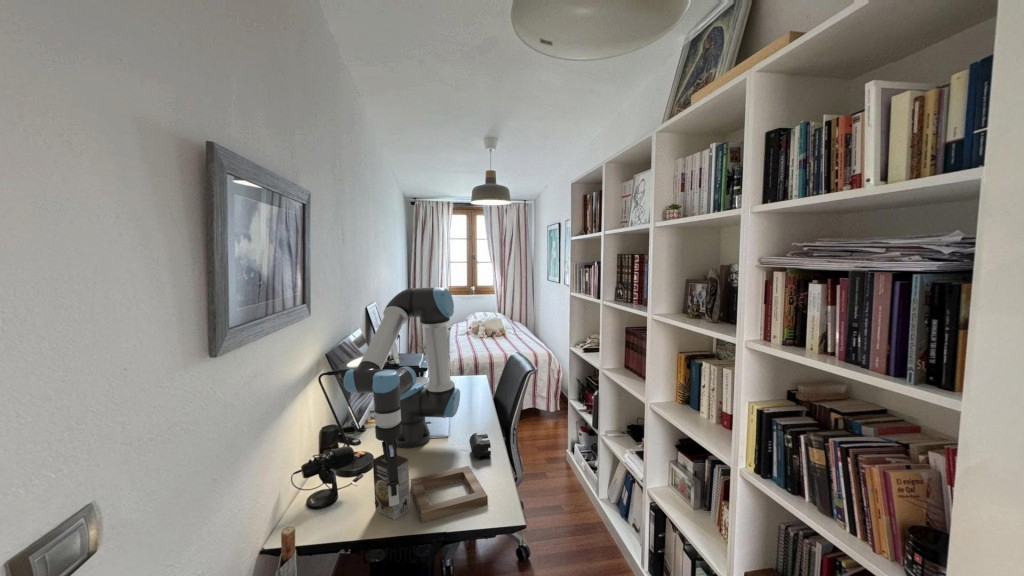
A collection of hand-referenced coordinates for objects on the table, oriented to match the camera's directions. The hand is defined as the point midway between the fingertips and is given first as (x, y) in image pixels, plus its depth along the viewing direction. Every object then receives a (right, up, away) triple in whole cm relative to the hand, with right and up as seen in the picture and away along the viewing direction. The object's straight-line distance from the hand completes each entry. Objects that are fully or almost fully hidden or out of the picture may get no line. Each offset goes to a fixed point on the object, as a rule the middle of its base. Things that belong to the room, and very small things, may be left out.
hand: (392, 494), depth 123 cm
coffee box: (0, -5, 0) cm, 5 cm away
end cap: (+24, -2, +34) cm, 42 cm away
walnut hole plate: (+16, -4, +7) cm, 18 cm away
